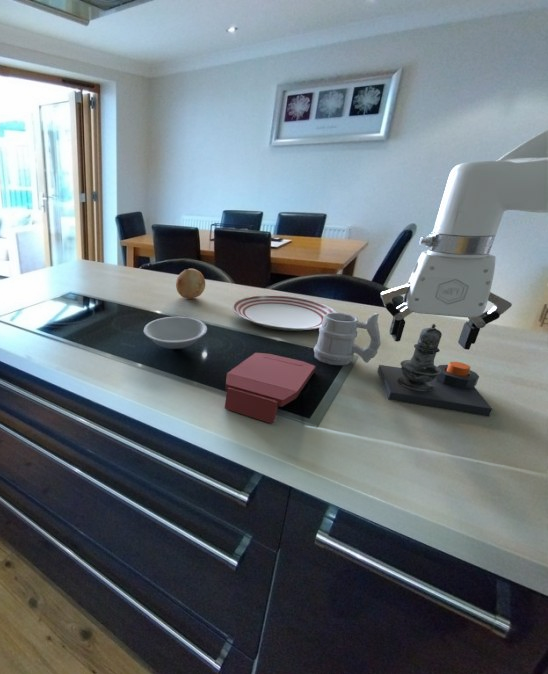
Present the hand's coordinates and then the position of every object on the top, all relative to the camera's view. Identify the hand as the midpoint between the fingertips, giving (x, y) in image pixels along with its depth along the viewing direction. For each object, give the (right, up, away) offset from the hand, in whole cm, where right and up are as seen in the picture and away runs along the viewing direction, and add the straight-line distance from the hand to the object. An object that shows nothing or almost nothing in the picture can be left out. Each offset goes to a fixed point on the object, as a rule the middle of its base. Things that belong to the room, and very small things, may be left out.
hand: (428, 342), depth 69 cm
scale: (+3, -9, +4) cm, 11 cm away
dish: (-40, -2, +26) cm, 48 cm away
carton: (-25, -9, +7) cm, 28 cm away
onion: (-28, +14, +63) cm, 71 cm away
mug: (-5, -5, +17) cm, 18 cm away
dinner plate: (-6, +6, +42) cm, 43 cm away
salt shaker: (0, -8, +3) cm, 9 cm away
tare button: (+8, -6, +4) cm, 11 cm away
